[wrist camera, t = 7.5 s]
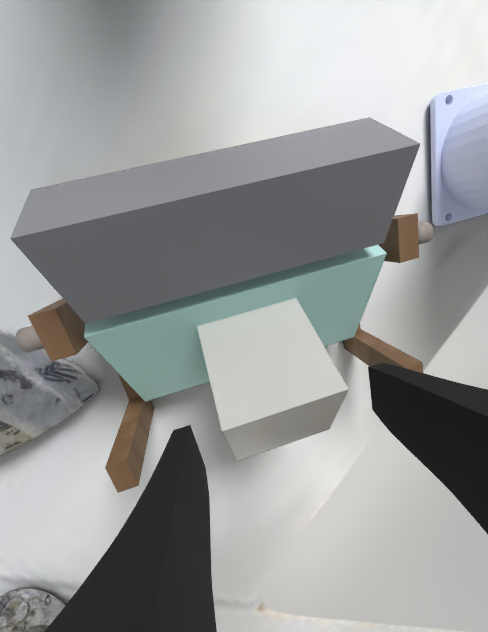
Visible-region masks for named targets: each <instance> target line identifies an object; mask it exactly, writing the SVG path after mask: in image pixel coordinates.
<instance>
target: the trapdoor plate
mask: <svg viewBox="0 0 488 632" xmlns="http://www.w3.org/2000/svg"><path fill="white" fill-rule="evenodd" d="M419 146H420V143H418V142H416V141H414V140H412V139H410V138H408V137H406V136H404V135H402V134H401V133H399V132H397V131H395V130H393V129H391V128H389V127H387V126H385V125H383V124H381V123H379V122H377V121H376V120H374V119H372V118H370V117H369V118H365V119H360V120H355V121H351V122H346V123H341V124H337V125H332V126H327V127H323V128H318V129H313V130H309V131H304V132H299V133H295V134H290V135H285V136H281V137H276V138H271V139H267V140H262V141H257V142H253V143H248V144H243V145H239V146H234V147H229V148H225V149H220V150H215V151H211V152H206V153H201V154H197V155H192V156H187V157H183V158H178V159H173V160H169V161H164V162H159V163H155V164H150V165H145V166H141V167H136V168H131V169H127V170H122V171H117V172H113V173H108V174H103V175H99V176H94V177H89V178H85V179H80V180H75V181H71V182H66V183H61V184H57V185H52V186H47V187H43V188H38V189H33V190H31V191H30V193H29V196H28V198H27V200H26V203H25V205H24V207H23V210H22V212H21V215H20V217H19V219H18V222H17V224H16V227H15V229H14V231H13V234H12V236H11V238H10V239H11V240H12V241H13V242H14V243H15V244H16V245H17V247H18V248H19V249H20V250H21V251H22V252H23V253H24V254H25V256H26V257H27V258H28V259H29V260H30V261H31V262H32V264H33V265H34V266H35V267H36V268H37V269H38V270H39V271H40V273H41V274H42V275H43V276H44V277H45V278H46V279H47V281H48V282H49V283H50V284H51V285H52V286H53V287H54V288H55V290H56V291H57V292H58V293H59V294H60V295H61V296H62V298H63V299H64V300H65V301H66V302H67V303H68V304H69V305H70V307H71V308H72V309H73V310H74V311H75V312H76V313H77V315H78V316H79V317H80V318H81V319H82V320H83V321H84V322H85V332H84V338H85V339H86V340H87V341H88V342H89V343H90V344H91V345H92V346H93V347H94V348H95V349H96V350H97V351H98V352H99V354H100V355H101V356H102V357H103V358H104V359H105V360H106V361H107V362H108V363H109V364H110V365H111V366H112V367H113V368H114V369H115V370H116V371H117V372H118V374H119V375H120V376H121V377H122V378H123V379H124V380H125V381H126V382H127V383H128V384H129V385H130V386H131V387H132V388H133V389H134V390H135V391H136V392H137V394H138V395H139V396H140V397H141V398H142V399H143V400H144V401H145V402H146V401H149V400H152V399H156V398H159V397H162V396H165V395H169V394H172V393H175V392H178V391H181V390H185V389H188V388H191V387H194V386H198V385H201V384H204V383H207V382H210V379H209V375H208V371H207V367H206V362H205V358H204V354H203V350H202V345H201V341H200V337H199V333H198V329H197V326H200V325H203V324H207V323H210V322H214V321H217V320H221V319H224V318H228V317H231V316H235V315H238V314H242V313H245V312H249V311H252V310H256V309H259V308H262V307H266V306H269V305H273V304H276V303H280V302H283V301H287V300H290V299H294V298H297V300H298V302H299V304H300V305H301V307H302V309H303V311H304V312H305V314H306V316H307V317H308V319H309V321H310V323H311V324H312V326H313V328H314V330H315V331H316V333H317V335H318V337H319V338H320V340H321V342H322V344H323V345H324V346H327V345H330V344H333V343H336V342H339V341H343V340H346V339H349V338H352V337H354V336H355V333H356V331H357V328H358V326H359V323H360V321H361V318H362V315H363V313H364V310H365V308H366V305H367V303H368V300H369V298H370V295H371V293H372V290H373V287H374V285H375V282H376V280H377V277H378V275H379V272H380V270H381V267H382V264H383V262H384V259H385V257H386V254H387V253H386V252H385V251H384V250H383V249H382V248H381V247H380V246H379V244H382V243H384V241H385V238H386V236H387V233H388V230H389V228H390V225H391V222H392V219H393V217H394V214H395V211H396V209H397V206H398V203H399V200H400V198H401V195H402V192H403V190H404V187H405V184H406V181H407V179H408V176H409V173H410V171H411V168H412V165H413V162H414V160H415V157H416V154H417V152H418V149H419Z"/></svg>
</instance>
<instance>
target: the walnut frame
mask: <svg viewBox="0 0 488 632" xmlns="http://www.w3.org/2000/svg"><path fill="white" fill-rule="evenodd" d="M433 233H434V231H433V227H432V225H431V224H430V223H429V222H427V221H423V222H420V223H418V214H407V215H397V216H394V217H393V219H392V222H391V225H390V228H389V230H388V233H387V236H386V238H385V241H384V243H382V244H379V246H380V247H381V248H382V249H383V250H384V251H385V252H386V253H387V254H386V257H385V259H384V261H390V262H398V263H401V262H405V261H408V260H412V259H415V258H419V244H422V243H426V242H429V241H430V240H431V239H432V237H433ZM28 317H29V319H30V321H31V323H32V325H33V326H30V327H27V328H23V329H20V330H18V332H17V334H16V339H17V343H18V345H19V347H20V348H21V349H22V350H23V351H24V352H27V353H29V352H33V351H36V350H40V349H45V351H46V353H47V355H48V356H49V358H50V360H51V362H52V361H55V360H59V359H62V358H66V357H69V356H73V355H76V354H77V353H78V352H79V351H80V350H81V349H82V348H83V347H84V346H85V345H86V344H87V343H88V341H87V340H86V339H85V338H84V332H85V322H84V321H83V320H82V319H81V318H80V317H79V316H78V315H77V313H76V312H75V311H74V310H73V309H72V308H71V307H70V305H69V304H68V303H67V302H66V301H65V300H64V299H61V300H59V301H57V302H55V303H53V304H51V305H49V306H47V307H45V308H43V309H41V310H39V311H37V312H35V313H33V314H31V315H29V316H28ZM343 341H344V348H345V349H346V350H348V351H349V352H350V353H352V354H353V355H355V356H356V357H357V358H359V359H360V360H362V361H363V362H364V363H366V364H367V365H369V366H373V365H376V364H379V363H387V364H391V365H395V366H399V367H403V368H406V369H410V370H413V371H417V372H420V373H423V365H422V362H420V361H419V360H417V359H415V358H413V357H411V356H409V355H407V354H406V353H404V352H402V351H400V350H398V349H396V348H394V347H393V346H391V345H389V344H387V343H385V342H383V341H382V340H380V339H378V338H376V337H374V336H372V335H370V334H369V333H367V332H365V331H363V330H361V329H360V323H359V326H358V328H357V331H356V333H355V336H354V337H352V338H349V339H346V340H343ZM119 377H120V379H121V381H122V384H123V386H124V388H125V391H126V393H127V395H128V398H129V403H128V406H127V408H126V411H125V414H124V417H123V420H122V422H121V425H120V428H119V431H118V434H117V436H116V439H115V442H114V445H113V448H112V450H111V453H110V456H109V459H108V461H107V464H106V467H105V468H106V470H107V472H108V474H109V476H110V478H111V480H112V482H113V484H114V486H115V488H116V490H117V492H121V491H124V490H127V489H130V488H133V487H136V486H138V485H139V480H140V475H141V470H142V465H143V460H144V455H145V450H146V445H147V440H148V435H149V430H150V425H151V420H152V415H153V410H154V407H153V405H152V402H151V400H149V401H146V402H145V401H144V400H143V399H142V398H141V397H140V396H139V395H138V394H137V392H136V391H135V390H134V389H133V388H132V387H131V386H130V385H129V384H128V383H127V382H126V381H125V380H124V379H123V378H122V377H121V376H120V375H119Z"/></svg>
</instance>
